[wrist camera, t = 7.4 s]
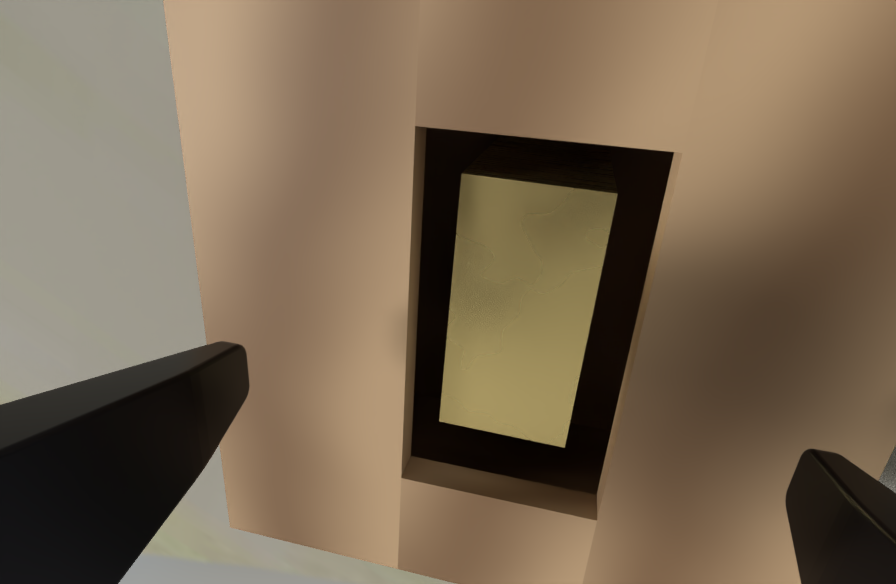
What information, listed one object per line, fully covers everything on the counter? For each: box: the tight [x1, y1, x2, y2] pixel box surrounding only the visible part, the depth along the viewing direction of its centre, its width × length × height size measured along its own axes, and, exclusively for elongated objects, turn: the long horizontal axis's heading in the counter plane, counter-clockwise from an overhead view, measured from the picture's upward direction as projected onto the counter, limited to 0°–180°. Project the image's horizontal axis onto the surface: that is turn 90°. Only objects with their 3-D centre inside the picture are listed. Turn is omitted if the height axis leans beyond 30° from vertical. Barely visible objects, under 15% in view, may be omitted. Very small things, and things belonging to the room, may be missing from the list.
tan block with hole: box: [163, 0, 896, 584], centre depth 14 cm, size 14×14×7 cm
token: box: [439, 135, 618, 448], centre depth 14 cm, size 3×6×6 cm, turn 175°
